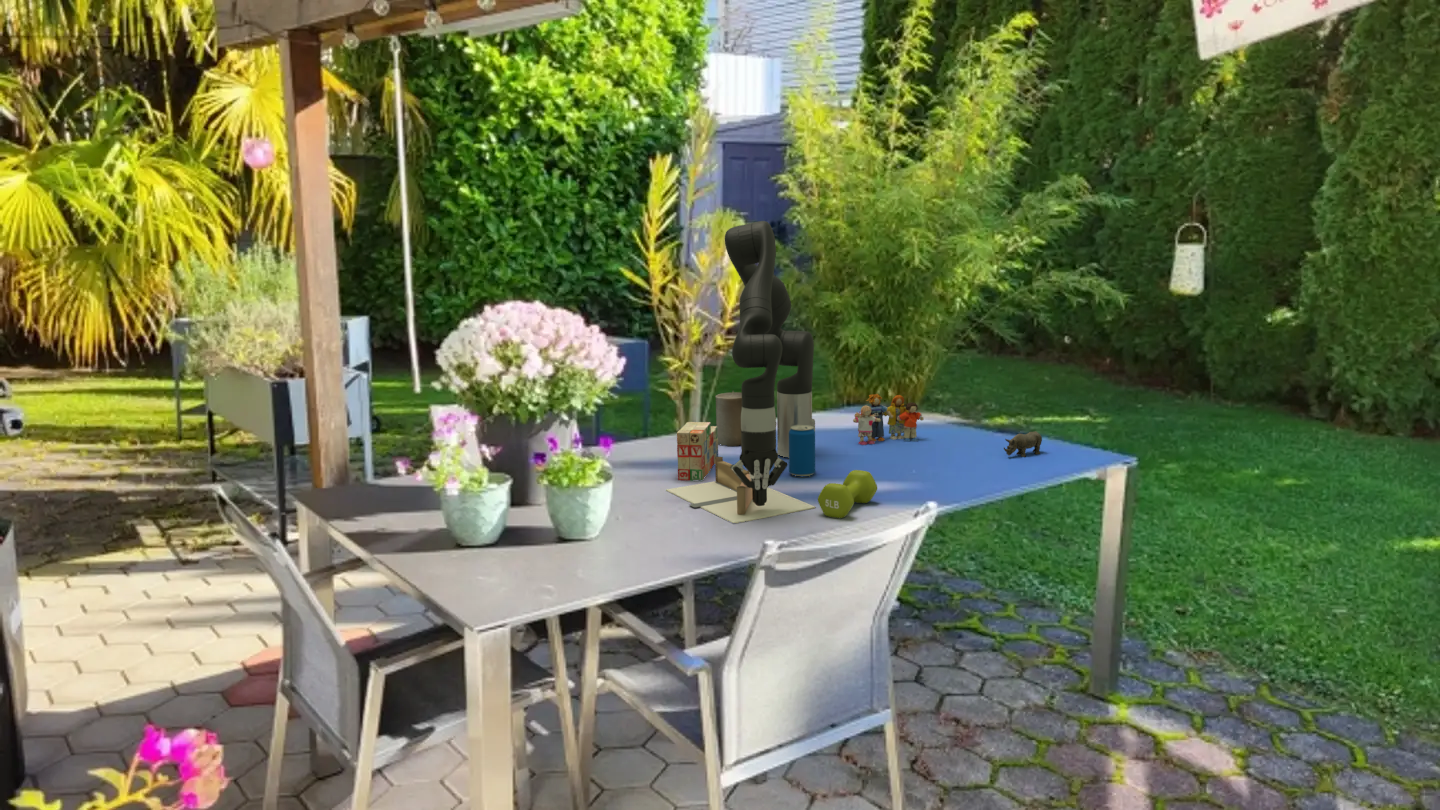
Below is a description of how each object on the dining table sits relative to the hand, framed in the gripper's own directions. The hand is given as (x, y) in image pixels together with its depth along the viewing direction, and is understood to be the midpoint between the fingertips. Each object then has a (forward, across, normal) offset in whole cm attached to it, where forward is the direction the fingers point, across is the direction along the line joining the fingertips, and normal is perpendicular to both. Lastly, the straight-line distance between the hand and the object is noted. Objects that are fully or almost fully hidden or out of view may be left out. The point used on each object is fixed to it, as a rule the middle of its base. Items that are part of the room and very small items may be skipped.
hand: (759, 504), depth 224 cm
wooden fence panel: (+1, -1, -19) cm, 19 cm away
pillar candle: (+1, -17, -66) cm, 68 cm away
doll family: (+2, -57, -53) cm, 78 cm away
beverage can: (+2, -21, -26) cm, 33 cm away
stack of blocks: (+2, +1, -40) cm, 40 cm away
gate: (+1, +2, -5) cm, 5 cm away
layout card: (+2, +1, -11) cm, 11 cm away
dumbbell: (+2, -19, +5) cm, 20 cm away
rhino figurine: (+2, -82, -22) cm, 85 cm away
